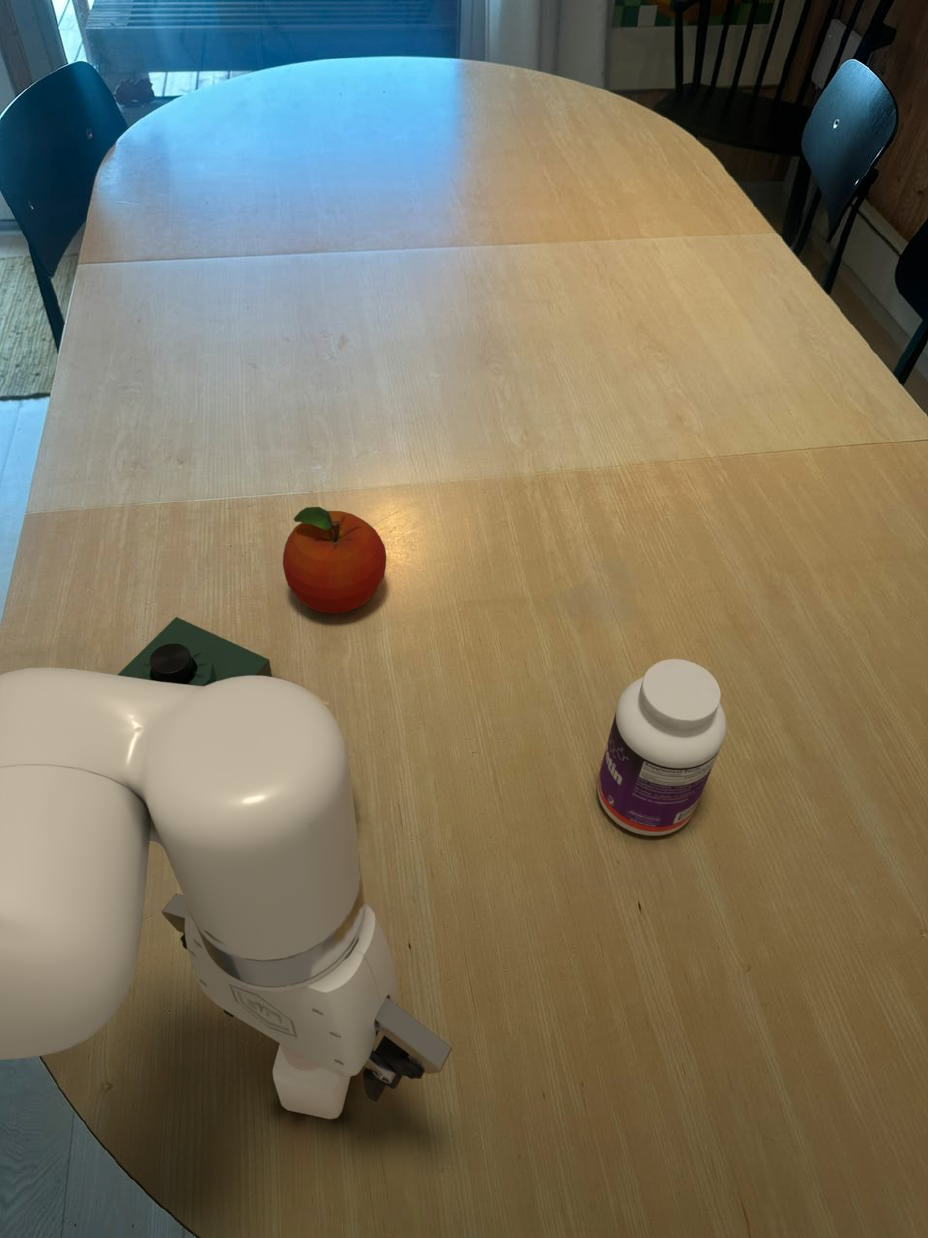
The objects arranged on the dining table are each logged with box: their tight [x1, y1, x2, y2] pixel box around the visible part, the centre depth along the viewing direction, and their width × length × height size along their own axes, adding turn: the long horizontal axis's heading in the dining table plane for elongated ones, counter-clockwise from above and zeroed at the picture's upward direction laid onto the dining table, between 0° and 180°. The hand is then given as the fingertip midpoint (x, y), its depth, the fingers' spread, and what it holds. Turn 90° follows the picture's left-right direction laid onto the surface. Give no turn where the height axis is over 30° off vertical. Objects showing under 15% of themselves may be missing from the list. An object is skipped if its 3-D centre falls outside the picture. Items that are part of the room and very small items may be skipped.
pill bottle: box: [596, 658, 727, 837], centre depth 73 cm, size 8×8×14 cm
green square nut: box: [117, 616, 273, 686], centre depth 81 cm, size 12×10×5 cm
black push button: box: [150, 643, 194, 685], centre depth 79 cm, size 3×3×2 cm
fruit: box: [282, 506, 387, 614], centre depth 89 cm, size 10×10×10 cm
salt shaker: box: [272, 1043, 352, 1120], centre depth 59 cm, size 4×4×10 cm
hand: (314, 1033), depth 56 cm, fingers open, 9 cm apart
